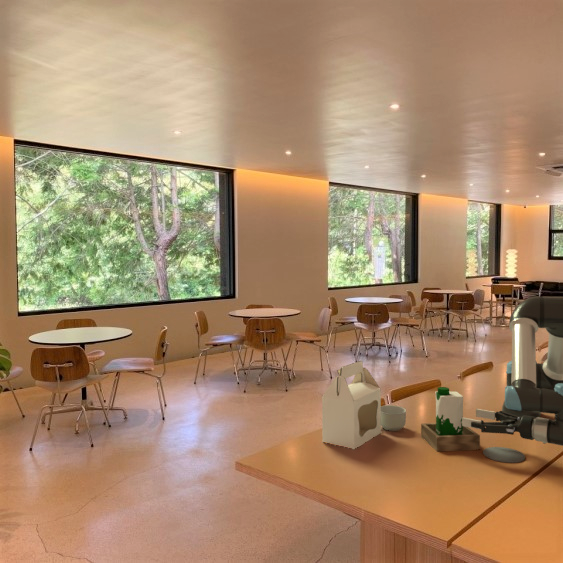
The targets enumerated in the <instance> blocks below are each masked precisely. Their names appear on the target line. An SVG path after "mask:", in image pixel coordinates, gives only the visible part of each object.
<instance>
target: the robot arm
mask: <svg viewBox="0 0 563 563" xmlns="http://www.w3.org/2000/svg"><path fill="white" fill-rule="evenodd" d="M508 327H509V330H510V332H511V360H509V362H507V363H506V371H505V373H506V386H505V387H504V401H503V404H502V407H501V410H499V411H492V410H486V409H480V408H476V409H475V417H477V418H483V419H487V420H494V421H488V422H486V421H485V422H484V420H482V419H481V420H478V419H473V418H469V417H468V418H467V417H463V418H462V426H465V427H469V428H470V429H477V430H480V431H481V433H483V434H484V433H487V434H489V433H490V434H491V433H492V434H506V435H511V436H513V435H515V432H517V433H518V434H519V436H520V437H521V438H522V439H523V440H529V441H533V440H535V441H536V442H540V443H541V442H542V444H544V445H545V444H552V445H557V446H562V447H563V296H539V295H538V296H537V295H535V296H531V297H528V298H526V299H524V300H522V301H521V302H520V303H518V304H517V305H516V307H515V308H514V309H513V310H512V312H511V315H510V316H509V322H508ZM539 329H545V330H546V332H547V333H548V339H547V340H548V343H547V357H546V359H545V360H544V362H543V363H539V362H537V357H536V356H537V353H536V352H537V351H536V347H537V346H536V333H537V332H538V330H539ZM542 414H553V415H554V419H551V418H545V417H541V415H542Z"/></svg>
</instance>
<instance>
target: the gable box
mask: <svg viewBox="0 0 563 563" xmlns="http://www.w3.org/2000/svg"><path fill="white" fill-rule="evenodd" d="M336 371H337V374H338V375H337V376H335V377H334V378H333V380H332V381H331V382H330V384H329V386H328V387H327V389H326V390H325V391H324V393H323V394H322V396H321V403H322V405H321V408H322V409H321V411H322V412H321V416H322V418H321V420H322V421H321V423H322V424H321V425H322V429H321V430H322V431H321V432H322V443H323V442H327V443H332V444H336V445H341V446H345V447H349V448H352V449H351V450H356V449H358V448H359V447H360V446H362V445H364V444H366V443H367V442H369V441H371V440H372V439H373V437H374V438H375V437H377V436H378V435H380V434H381V433H382V426H381V404H382V402H381V401H382V399H381V398H382V397H381V396H382V395H381V394H382V393H381V388H380V386H379V385H378V383H377V381H376V380H375V378H374V377H373V376H372V374H371V373H370V371H369V370H368V369H367V368H366V367H364V363H363V361H362V360H358V361H356V362H352V363H350V364H347V365H344V366H341V367H340V369H337V370H336ZM353 376H354V377H353ZM351 377H353V379H352V382H351V383H350V384H348V382H347V380H346V379H348V378H351ZM365 442H366V443H365ZM327 443H326V444H327ZM336 445H335V446H336ZM345 447H344V448H345ZM357 447H358V448H357ZM349 448H348V449H349ZM355 448H356V449H355Z"/></svg>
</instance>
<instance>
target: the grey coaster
mask: <svg viewBox="0 0 563 563" xmlns="http://www.w3.org/2000/svg"><path fill="white" fill-rule="evenodd" d="M482 453H483V454H484V455H485V456H486V457H485V456H484V455H483V456H484V457H485V458H487V457H488V458H487V459H489V458H490V459H489V460H492V461H495V462H499V463H510V464H515V463H521V462H524V461H525V459H526V456H525V454H524V453H523V452H521V451H519V450H517V449H515V448H510V447H509V448H508V447H505V446H504V447H503V446H491V447H485V448H484V449H483V450H482Z"/></svg>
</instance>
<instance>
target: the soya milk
mask: <svg viewBox="0 0 563 563" xmlns="http://www.w3.org/2000/svg"><path fill="white" fill-rule="evenodd" d="M462 418H464V395H462V394H460V393H459V392H458V391H450V388H449V387H445V386H439V387H437V391H435V423H436V434H437V435H439V436H448V435H463V426H462Z"/></svg>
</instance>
